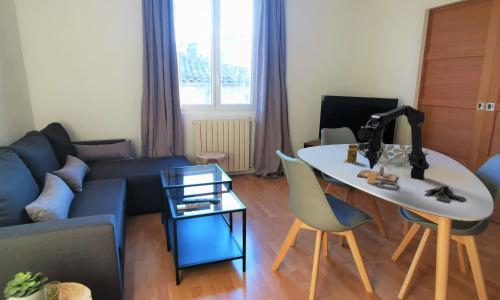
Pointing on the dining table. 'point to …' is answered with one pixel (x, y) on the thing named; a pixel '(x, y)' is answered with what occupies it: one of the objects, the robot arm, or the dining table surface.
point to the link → (373, 181)
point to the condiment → (351, 154)
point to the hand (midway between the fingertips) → (373, 166)
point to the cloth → (444, 194)
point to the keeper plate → (378, 175)
